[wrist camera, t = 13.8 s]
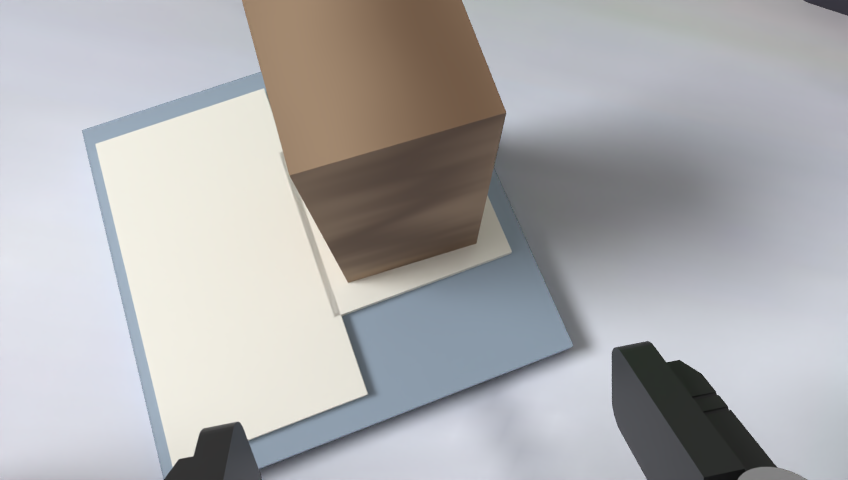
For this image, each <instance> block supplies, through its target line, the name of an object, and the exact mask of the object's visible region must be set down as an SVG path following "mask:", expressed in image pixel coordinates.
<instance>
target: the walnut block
mask: <svg viewBox="0 0 848 480" xmlns="http://www.w3.org/2000/svg"><path fill="white" fill-rule="evenodd" d="M242 2H243V6H244V10H245V13H246V17H247V21H248V24H249V28H250V32H251V35H252V39H253V43H254V47H255V50H256V54H257V58H258V61H259V65H260V69H261V73H262V76H263V80H264V84H265V87H266V91H267V95H268V98H269V102H270V106H271V110H272V113H273V117H274V121H275V124H276V128H277V132H278V135H279V139H280V143H281V147H282V150H283V154H284V158H285V161H286V165H287V169H288V172H289V176H290V178H291V179H292V181H293V183H294V185H295V187H296V189H297V190H298V192H299V194H300V196H301V198H302V200H303V201H304V203H305V205H306V207H307V209H308V211H309V212H310V214H311V216H312V218H313V220H314V222H315V223H316V225H317V227H318V229H319V231H320V232H321V234H322V236H323V238H324V240H325V242H326V243H327V245H328V247H329V249H330V251H331V253H332V254H333V256H334V258H335V260H336V262H337V264H338V265H339V267H340V269H341V271H342V273H343V275H344V276H345V278H346V280H347V282H348V283H349V282H352V281H356V280H359V279H362V278H366V277H369V276H372V275H375V274H379V273H382V272H385V271H388V270H392V269H395V268H398V267H402V266H405V265H408V264H411V263H415V262H418V261H421V260H424V259H428V258H431V257H434V256H437V255H441V254H444V253H447V252H451V251H454V250H457V249H460V248H464V247H467V246H470V245H473V244H476V243H477V239H478V234H479V230H480V225H481V221H482V217H483V212H484V208H485V203H486V199H487V195H488V190H489V186H490V182H491V177H492V173H493V168H494V164H495V160H496V155H497V151H498V146H499V142H500V138H501V133H502V129H503V125H504V120H505V116H506V111H505V108H504V106H503V103H502V101H501V98H500V96H499V93H498V91H497V88H496V86H495V83H494V81H493V78H492V75H491V73H490V70H489V68H488V65H487V63H486V60H485V58H484V55H483V53H482V50H481V48H480V45H479V43H478V40H477V38H476V35H475V33H474V30H473V28H472V25H471V22H470V20H469V17H468V15H467V12H466V10H465V7H464V5H463V2H462V0H242Z"/></svg>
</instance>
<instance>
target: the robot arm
mask: <svg viewBox="0 0 848 480" xmlns="http://www.w3.org/2000/svg"><path fill="white" fill-rule="evenodd" d="M612 406H613V411H614V416H615V419H616V422H617V425H618V427H619V429H620V431H621V433H622V435H623V437H624V439H625V441H626V442H627V444H628V446H629V448H630V449H631V451H632V453H633V455H634V457H635V458H636V460H637V462H638V464H639V466H640V467H641V469H642V471H643V473H644V475H645V476H646V478H647V480H806V479H805V478H803V477H801V476H800V475H798V474H795V473H793V472H791V471H788V470H785V469H781V468H777V466H776V465H775V464H774V463H773V462H772V461H771V459H770V458H769V457H768V456H767V454H766V453H765V452H764V451H763V449H762V448H761V447H760V446H759V444H758V443H757V442H756V441H755V439H754V438H753V437H752V436H751V435H750V433H749V432H748V431H747V430H746V428H745V427H744V426H743V425H742V423H741V422H740V421H739V420H738V418H737V417H736V416H735V415H734V413H733V412H732V411H731V410H729V409H728V406H727V405H726V404H725V402H724V401H723V400H722V399H721V397H720V396H719V395H717V394H716V391H715V390H714V389H713V387H712V386H711V385H710V384H709V382H708V381H707V380H706V379H705V378H704V376H703V375H702V374H701V373H699V372H698V371H696V370H695V369H693V368H691V367H690V366H688V365H687V364H685V363H683V362H682V361H680V360H677V361H672V362H667V363H666V362H665V360H664V359H663V358H662V356H661V355H660V354H659V352H658V351H657V350H656V348H655V347H654V346H653V344H652V343H650V342H649V341H646V342H641V343H636V344H631V345H626V346H621V347H616V348H614V349H613V351H612ZM164 480H262V479H261V474H260V471H259V468H258V466H257V463H256V460H255V458H254V455H253V452H252V450H251V447H250V444H249V442H248V439H247V436H246V434H245V431H244V429H243V426H242V425H241V423H240V422H233V423H228V424H223V425H218V426H213V427H208V428H203V429H202V430H201V431H200V434H199V437H198V441H197V445H196V448H195V452H194V456H192V457H187V458H182V459H179V460H178V461H177V462H176V464H175V465H174V466H173V468H172V469H171V470H170V472H169V473H168V474H167V476H166V477H165V479H164Z"/></svg>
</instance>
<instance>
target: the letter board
mask: <svg viewBox="0 0 848 480" xmlns="http://www.w3.org/2000/svg"><path fill="white" fill-rule="evenodd" d="M82 133H83V137H84V141H85V146H86V150H87V154H88V159H89V163H90V167H91V171H92V176H93V180H94V184H95V188H96V193H97V197H98V201H99V206H100V210H101V214H102V218H103V223H104V227H105V231H106V235H107V240H108V244H109V248H110V252H111V257H112V261H113V265H114V270H115V274H116V278H117V282H118V287H119V291H120V295H121V299H122V304H123V308H124V312H125V317H126V321H127V325H128V329H129V334H130V338H131V342H132V346H133V351H134V355H135V359H136V364H137V368H138V372H139V376H140V381H141V385H142V389H143V393H144V398H145V402H146V406H147V411H148V415H149V419H150V423H151V428H152V432H153V436H154V440H155V445H156V449H157V453H158V458H159V462H160V466H161V470H162V475H163V479H165V477H166V476H167V474H168V473H169V472H170V470H171V469H172V468H173V466H174V465H175V464H176V462H177V461H178V460H179V459H182V458H187V457H192V456H194V452H195V448H196V445H197V441H198V437H199V434H200V431H201V430H202V429H203V428H208V427H213V426H218V425H223V424H228V423H233V422H240V423H241V425H242V426H243V429H244V431H245V434H246V436H247V439H248V442H249V444H250V447H251V450H252V452H253V455H254V458H255V460H256V463H257V466H258V468H259V469H261V468H264V467H267V466H269V465H272V464H274V463H277V462H279V461H282V460H285V459H287V458H290V457H292V456H295V455H298V454H300V453H303V452H305V451H308V450H310V449H313V448H316V447H318V446H321V445H323V444H326V443H328V442H331V441H334V440H336V439H339V438H341V437H344V436H346V435H349V434H352V433H354V432H357V431H359V430H362V429H364V428H367V427H370V426H372V425H375V424H377V423H380V422H382V421H385V420H388V419H390V418H393V417H395V416H398V415H400V414H403V413H406V412H408V411H411V410H413V409H416V408H418V407H421V406H424V405H426V404H429V403H431V402H434V401H436V400H439V399H442V398H444V397H447V396H449V395H452V394H454V393H457V392H460V391H462V390H465V389H467V388H470V387H473V386H475V385H478V384H480V383H483V382H485V381H488V380H491V379H493V378H496V377H498V376H501V375H503V374H506V373H509V372H511V371H514V370H516V369H519V368H521V367H524V366H527V365H529V364H532V363H534V362H537V361H539V360H542V359H545V358H547V357H550V356H552V355H555V354H557V353H560V352H563V351H565V350H568V349H570V348H571V347H573V344H572V342H571V339H570V337H569V335H568V333H567V330H566V328H565V326H564V324H563V321H562V319H561V317H560V315H559V313H558V310H557V308H556V306H555V304H554V301H553V299H552V297H551V295H550V292H549V290H548V288H547V286H546V283H545V281H544V279H543V277H542V274H541V272H540V270H539V268H538V265H537V263H536V261H535V259H534V256H533V254H532V252H531V250H530V247H529V245H528V243H527V241H526V238H525V236H524V234H523V232H522V230H521V227H520V225H519V223H518V221H517V218H516V216H515V214H514V212H513V209H512V207H511V205H510V203H509V200H508V198H507V196H506V194H505V191H504V189H503V187H502V185H501V182H500V180H499V178H498V176H497V173H496V171H495V169H494V168H493V173H492V177H491V182H490V186H489V190H488V195H487V199H486V203H485V208H484V212H483V217H482V221H481V225H480V230H479V234H478V239H477V243H476V244H473V245H470V246H467V247H464V248H460V249H457V250H454V251H451V252H447V253H444V254H441V255H437V256H434V257H431V258H428V259H424V260H421V261H418V262H415V263H411V264H408V265H405V266H402V267H398V268H395V269H392V270H388V271H385V272H382V273H379V274H375V275H372V276H369V277H366V278H362V279H359V280H356V281H352V282H349V283H348V282H347V280H346V278H345V276H344V275H343V273H342V271H341V269H340V267H339V265H338V264H337V262H336V260H335V258H334V256H333V254H332V253H331V251H330V249H329V247H328V245H327V243H326V242H325V240H324V238H323V236H322V234H321V232H320V231H319V229H318V227H317V225H316V223H315V222H314V220H313V218H312V216H311V214H310V212H309V211H308V209H307V207H306V205H305V203H304V201H303V200H302V198H301V196H300V194H299V192H298V190H297V189H296V187H295V185H294V183H293V181H292V179H291V178H290V176H289V172H288V169H287V165H286V161H285V158H284V154H283V150H282V147H281V143H280V139H279V135H278V132H277V128H276V124H275V121H274V117H273V113H272V110H271V106H270V102H269V98H268V95H267V91H266V87H265V84H264V80H263V76H262V73H261V72H259V73H256V74H253V75H250V76H246V77H243V78H240V79H237V80H234V81H231V82H228V83H225V84H222V85H219V86H216V87H213V88H210V89H207V90H204V91H201V92H198V93H194V94H191V95H188V96H185V97H182V98H179V99H176V100H173V101H170V102H167V103H164V104H161V105H158V106H155V107H152V108H149V109H146V110H142V111H139V112H136V113H133V114H130V115H127V116H124V117H121V118H118V119H115V120H112V121H109V122H106V123H103V124H100V125H97V126H94V127H90V128H87V129H84V130H82Z"/></svg>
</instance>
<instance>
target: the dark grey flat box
mask: <svg viewBox="0 0 848 480" xmlns="http://www.w3.org/2000/svg"><path fill="white" fill-rule="evenodd" d="M804 1H806V2H808V3H811V4H814V5H817V6H820V7H823V8H826V9H829V10H832V11H835V12H838V13H842V14H845V15H848V0H804Z"/></svg>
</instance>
